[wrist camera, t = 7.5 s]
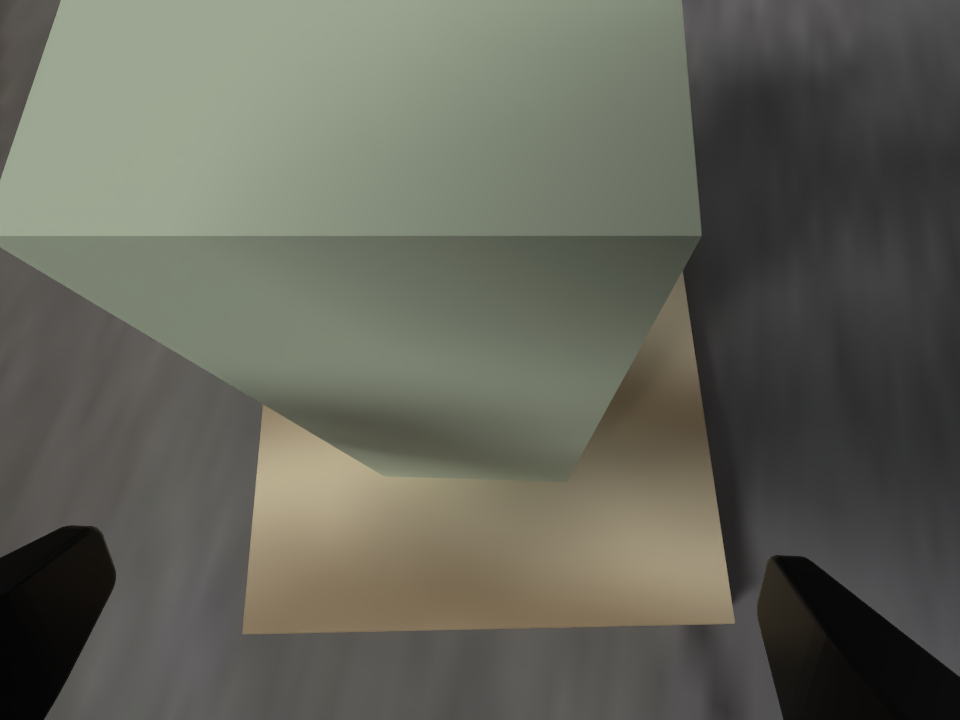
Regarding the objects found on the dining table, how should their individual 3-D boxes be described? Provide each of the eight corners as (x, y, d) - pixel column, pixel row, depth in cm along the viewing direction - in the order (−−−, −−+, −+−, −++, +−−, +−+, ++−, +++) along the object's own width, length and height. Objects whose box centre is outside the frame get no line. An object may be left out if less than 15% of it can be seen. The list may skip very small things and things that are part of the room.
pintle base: (719, 618, 15) (801, 644, 11) (262, 628, 16) (159, 656, 12) (662, 212, 19) (704, 104, 15) (294, 233, 20) (226, 137, 15)
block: (566, 482, 16) (702, 236, 4) (383, 476, 16) (-18, 235, 4) (565, 311, 17) (660, -251, 5) (398, 309, 17) (135, -218, 6)
